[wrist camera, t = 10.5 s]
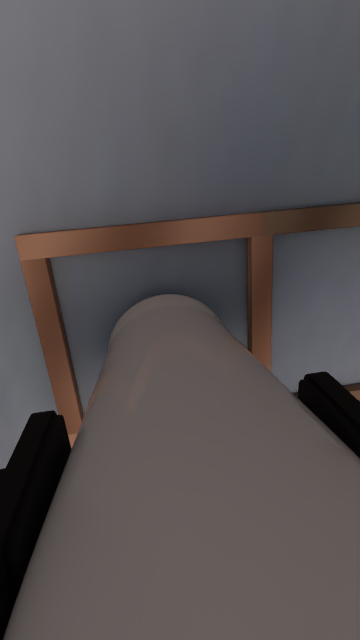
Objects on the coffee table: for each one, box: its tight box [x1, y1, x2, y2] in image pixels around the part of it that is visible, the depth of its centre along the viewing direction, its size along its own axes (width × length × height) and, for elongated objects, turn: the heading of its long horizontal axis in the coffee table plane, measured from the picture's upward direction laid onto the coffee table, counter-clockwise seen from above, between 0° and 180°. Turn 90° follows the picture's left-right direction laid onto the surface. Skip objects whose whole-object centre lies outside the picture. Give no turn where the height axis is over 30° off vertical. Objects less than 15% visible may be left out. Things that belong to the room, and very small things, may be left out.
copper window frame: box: [14, 203, 360, 449], centre depth 17 cm, size 31×11×1 cm, turn 95°
